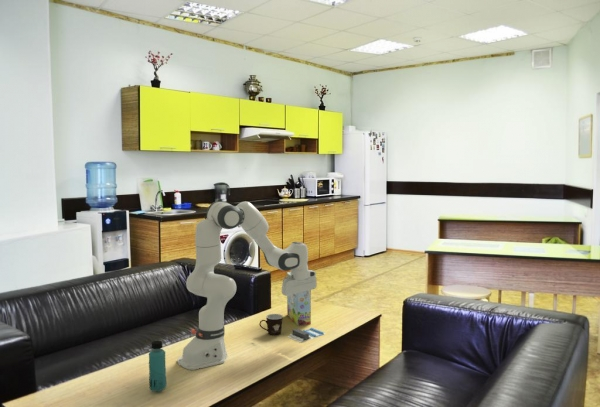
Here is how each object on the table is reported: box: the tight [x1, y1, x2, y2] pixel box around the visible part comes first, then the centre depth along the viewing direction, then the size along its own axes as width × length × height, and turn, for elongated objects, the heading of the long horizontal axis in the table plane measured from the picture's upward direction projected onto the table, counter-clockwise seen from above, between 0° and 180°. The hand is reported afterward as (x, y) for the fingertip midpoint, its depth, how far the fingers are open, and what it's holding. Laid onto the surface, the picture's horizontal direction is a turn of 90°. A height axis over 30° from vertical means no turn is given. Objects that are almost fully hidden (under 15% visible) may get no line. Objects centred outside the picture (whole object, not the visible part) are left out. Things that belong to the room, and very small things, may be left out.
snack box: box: [286, 271, 312, 326], centre depth 266 cm, size 22×9×26 cm, turn 17°
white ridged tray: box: [287, 327, 327, 343], centre depth 242 cm, size 18×10×2 cm, turn 132°
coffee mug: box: [259, 313, 284, 337], centre depth 244 cm, size 12×9×10 cm
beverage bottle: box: [148, 340, 167, 392], centre depth 183 cm, size 6×7×20 cm
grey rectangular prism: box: [291, 328, 309, 342], centre depth 239 cm, size 3×9×3 cm, turn 43°
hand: (299, 300), depth 237 cm, fingers open, 8 cm apart
